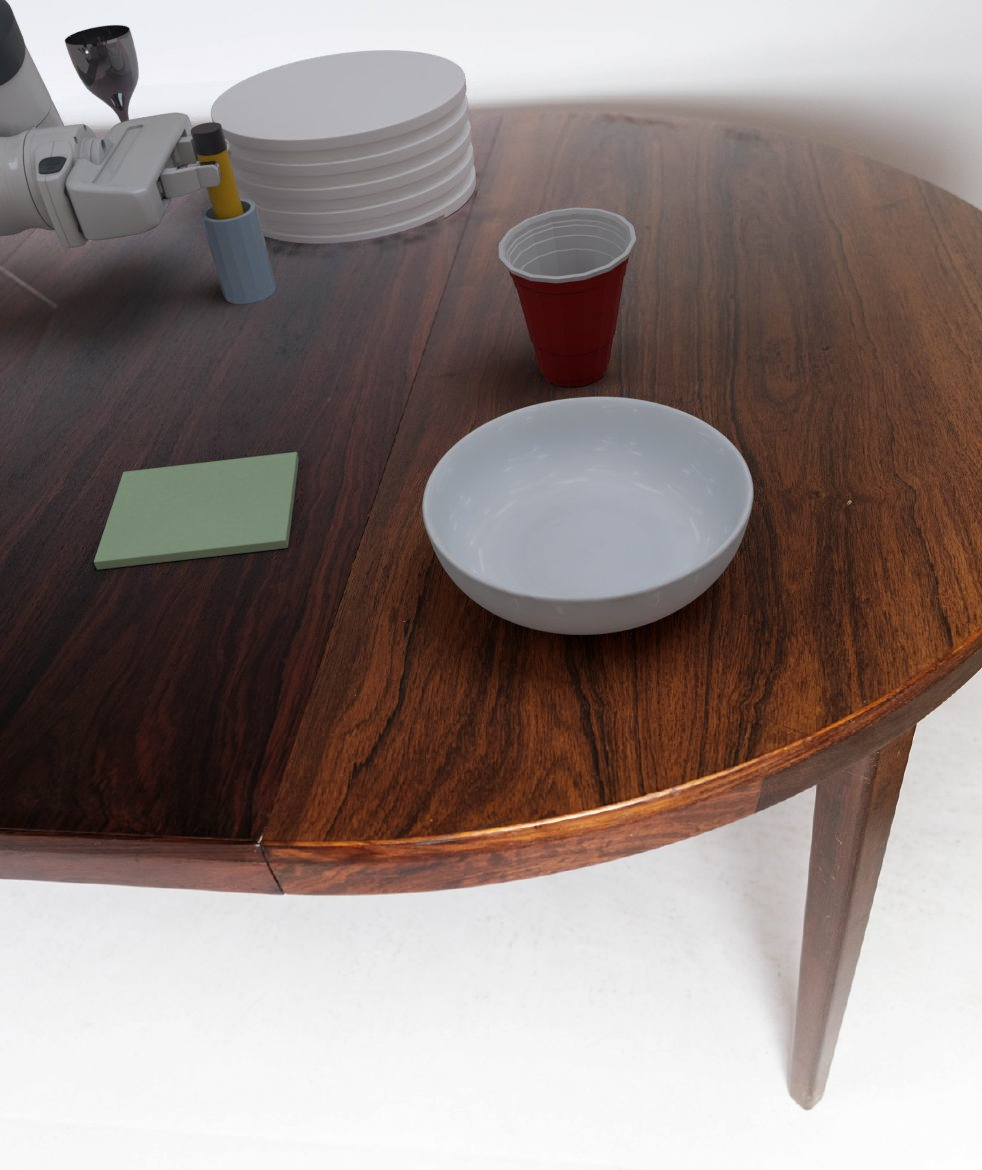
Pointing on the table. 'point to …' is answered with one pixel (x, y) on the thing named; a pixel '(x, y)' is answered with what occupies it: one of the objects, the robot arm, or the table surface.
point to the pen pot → (240, 255)
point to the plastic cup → (570, 287)
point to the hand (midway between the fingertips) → (224, 161)
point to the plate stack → (350, 144)
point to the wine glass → (106, 64)
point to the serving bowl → (588, 513)
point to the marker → (215, 149)
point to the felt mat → (200, 511)
